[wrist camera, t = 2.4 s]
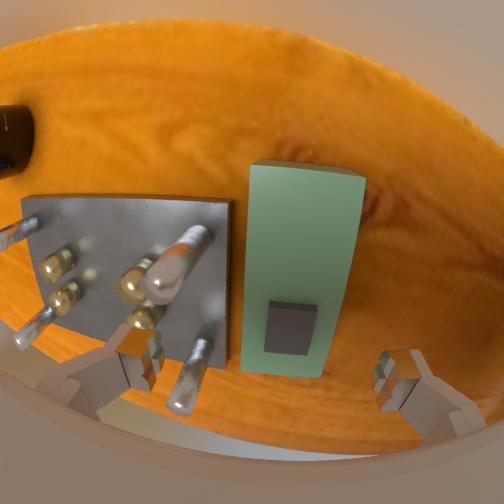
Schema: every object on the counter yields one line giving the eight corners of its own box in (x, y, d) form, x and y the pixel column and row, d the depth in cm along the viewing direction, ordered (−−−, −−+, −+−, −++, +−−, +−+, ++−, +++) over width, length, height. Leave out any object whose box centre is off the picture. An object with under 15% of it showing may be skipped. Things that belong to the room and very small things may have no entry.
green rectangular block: (260, 158, 15) (248, 165, 11) (345, 167, 15) (370, 179, 10) (249, 327, 20) (238, 377, 15) (315, 333, 20) (320, 385, 15)
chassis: (232, 199, 16) (193, 241, 10) (228, 359, 21) (208, 431, 15) (29, 195, 18) (-30, 220, 11) (57, 316, 23) (17, 356, 16)
